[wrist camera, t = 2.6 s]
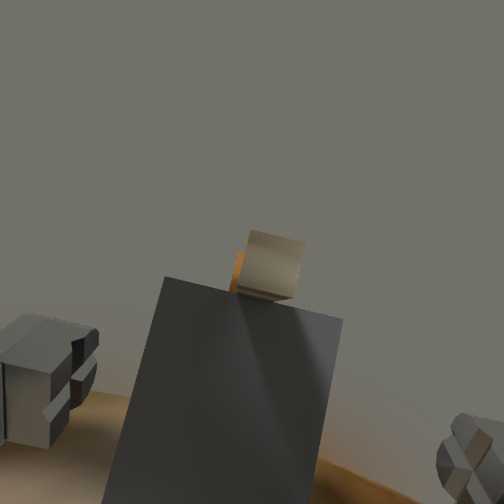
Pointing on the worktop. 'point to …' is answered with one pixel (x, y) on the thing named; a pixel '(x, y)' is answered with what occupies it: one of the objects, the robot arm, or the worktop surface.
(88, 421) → the worktop surface
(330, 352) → the cabinet
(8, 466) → the worktop surface
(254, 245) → the bar
